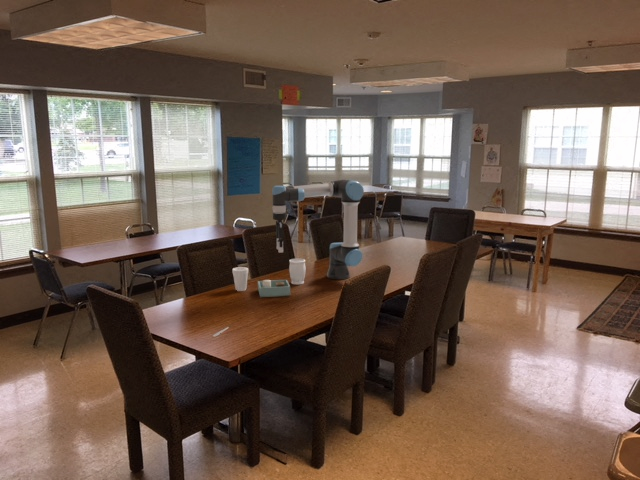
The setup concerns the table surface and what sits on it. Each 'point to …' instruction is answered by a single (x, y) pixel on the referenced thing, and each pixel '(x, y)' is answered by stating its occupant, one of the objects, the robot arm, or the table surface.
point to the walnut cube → (280, 284)
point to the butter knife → (220, 332)
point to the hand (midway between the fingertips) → (279, 250)
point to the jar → (297, 271)
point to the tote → (274, 289)
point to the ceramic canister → (266, 283)
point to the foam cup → (240, 278)
